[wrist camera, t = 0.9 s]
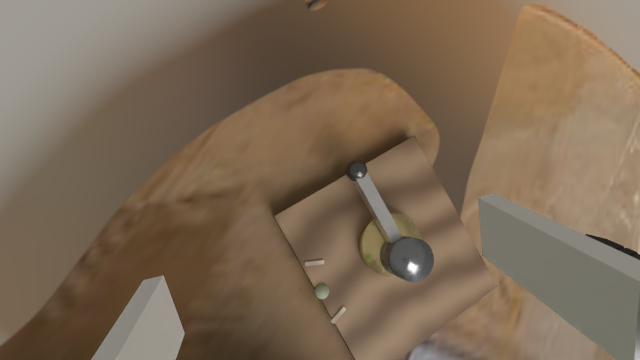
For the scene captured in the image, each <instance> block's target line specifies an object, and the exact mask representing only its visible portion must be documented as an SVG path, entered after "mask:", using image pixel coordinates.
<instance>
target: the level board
mask: <svg viewBox="0 0 640 360" xmlns="http://www.w3.org/2000/svg"><path fill="white" fill-rule="evenodd" d="M365 165H366V166H367V170H368V172H367V173H368V175H369V176H370V178H371V180H372V182H373V184H374V185H375V187H376V189H377V191H378V193H379V194H380V196H381V198H382V200H383V202H384V204H385V205H386V207H387V209H388V211H389V213H397V214H401V215H403V216H405V217H407V218H409V219H410V220H411V221H412V222H413V223H414V224H415V225H416V227H417V228H418V230H419V233H420V236H421V240H423V241H425V242H426V243H427V244H428V245H429V246H430V248H431V249H432V252H433V255H434V265H433V268H432V271H431V273H430V274H429V275H428V276H427V277H426V278H425V279H424V280H422V281H419V282H408V281H406V280H403V279H401V278H399V277H386V276H383V275H380V274H378V273H376V272H374V271H373V270H371V269H370V268H369V267H368V266H367V265H366V264H365V262H364V261H363V259H362V257H361V254H360V250H359V239H360V235H361V232H362V229H363V228H364V226H365V225H366V223H367V222H368V221H369V220H370V219H372V218H373V217H372V215H371V213H370V211H369V209H368V208H367V206H366V204H365V202H364V200H363V199H362V197H361V195H360V193H359V191H358V190H357V188H356V186H355V184H354V182H353V181H352V180H350V179H349V178H348V177H347V175H346V174H345V175H344V176H342V177H340V178H338V179H337V180H335V181H333V182H331V183H330V184H328V185H326V186H324V187H323V188H321V189H319V190H318V191H316V192H314V193H312V194H311V195H309V196H307V197H305V198H304V199H302V200H300V201H298V202H297V203H295V204H293V205H291V206H290V207H288V208H286V209H284V210H283V211H281V212H279V213H278V214H276V215H274V216H273V217H274V218H275V220H276V222H277V224H278V225H279V227H280V229H281V231H282V232H283V234H284V236H285V238H286V240H287V241H288V243H289V245H290V247H291V248H292V250H293V252H294V254H295V255H296V257H297V259H298V261H299V263H300V264H301V266H302V268H303V270H304V271H305V273H306V275H307V277H308V278H309V280H310V282H311V284H312V285H313V287H314V289H315V295H316V296H317V298H319V299H320V300H321V301H322V303H323V305H324V307H325V308H326V310H327V312H328V314H329V316H330V317H331V322H332V323H333V324H335V326H336V328H337V330H338V331H339V333H340V335H341V337H342V338H343V340H344V342H345V344H346V346H347V347H348V349H349V351H350V353H351V354H352V356H353V358H354V360H399V359H400V358H402V357H403V356H404V355H406V354H407V353H408V352H410V351H411V350H412V349H414V348H415V347H416V346H418V345H419V344H420V343H422V342H423V341H424V340H426V339H427V338H428V337H430V336H431V335H432V334H434V333H435V332H436V331H438V330H439V329H440V328H442V327H443V326H445V325H446V324H447V323H449V322H450V321H451V320H453V319H454V318H455V317H457V316H458V315H459V314H461V313H462V312H463V311H465V310H466V309H467V308H469V307H470V306H471V305H473V304H474V303H475V302H477V301H478V300H479V299H481V298H482V297H483V296H485V295H486V294H487V293H489V292H490V291H491V290H493V289H494V288H495V287H497V285H496V283H495V281H494V279H493V277H492V276H491V274H490V272H489V270H488V268H487V267H486V265H485V263H484V261H483V259H482V257H481V256H480V254H479V252H478V250H477V248H476V246H475V245H474V243H473V241H472V239H471V237H470V235H469V234H468V232H467V230H466V228H465V226H464V224H463V223H462V221H461V219H460V217H459V215H458V213H457V212H456V210H455V208H454V206H453V205H452V202H451V201H450V199H449V197H448V195H447V193H446V191H445V190H444V188H443V186H442V184H441V182H440V180H439V179H438V177H437V175H436V173H435V171H434V170H433V168H432V166H431V164H430V162H429V160H428V158H427V157H426V155H425V153H424V151H423V149H422V148H421V146H420V144H419V142H418V140H417V138H416V137H415V136H412V137H410V138H408V139H406V140H404V141H403V142H401V143H399V144H397V145H396V146H394V147H392V148H391V149H389V150H387V151H385V152H384V153H382V154H380V155H378V156H377V157H375V158H373V159H371V160H370V161H368V162H366V163H365Z"/></svg>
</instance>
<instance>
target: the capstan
mask: <svg viewBox="0 0 640 360" xmlns="http://www.w3.org/2000/svg"><path fill="white" fill-rule="evenodd" d="M367 172H368V170H367V166H366V165H365V163H363V162H362V161H359V160H354V161H351V162H350V163H349V164H348V165H347V167H346V175H347V177H348V178H349V179H350V180H352V181H353V182H354V184H355V186H356V188H357V190H358V191H359V193H360V195H361V197H362V199H363V200H364V202H365V204H366V206H367V208H368V209H369V211H370V213H371V215H372V217H373V218H372V219H370V220H369V221H368V222H367V223H366V225H365V226H364V228H363V229H362V232H361V235H360V239H359V250H360V254H361V257H362V259H363V261H364V262H365V264H366V265H367V266H368V267H369V268H370V269H371V270H373V271H374V272H376V273H378V274H380V275H383V276H386V277H399V278H401V279H403V280H406V281H408V282H419V281H422V280H424V279H425V278H426V277H427V276H428V275H429V274H430V273H431V271H432V268H433V265H434V255H433V252H432V249H431V248H430V246H429V245H428V244H427V243H426V242H425V241H423V240H421V236H420V233H419V230H418V228H417V227H416V225H415V224H414V223H413V222H412V221H411V220H410V219H409V218H407V217H405V216H403V215H401V214H397V213H389V211H388V209H387V207H386V205H385V204H384V202H383V200H382V198H381V196H380V194H379V193H378V191H377V189H376V187H375V185H374V184H373V182H372V180H371V178H370V176H369V175H368V173H367Z"/></svg>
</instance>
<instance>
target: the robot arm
mask: <svg viewBox="0 0 640 360" xmlns="http://www.w3.org/2000/svg"><path fill="white" fill-rule="evenodd" d="M478 206H479V220H480V233H481V246H482V256H484V257H485V258H486V259H487V260H489V261H490V262H491V263H493V264H494V265H495V266H496V267H498V268H499V269H500V270H502V271H503V272H504V273H505V274H507V275H508V276H509V277H511V278H512V279H513V280H514V281H516V282H517V283H518V284H520V285H521V286H522V287H523V288H525V289H526V290H527V291H529V292H530V293H531V294H532V295H534V296H535V297H536V298H538V299H539V300H540V301H541V302H543V303H544V304H545V305H547V306H548V307H549V308H550V309H552V310H553V311H554V312H556V313H557V314H558V315H559V316H561V317H562V318H563V319H565V320H566V321H567V322H568V323H570V324H571V325H572V326H574V327H575V328H576V329H577V330H579V331H580V332H581V333H583V334H584V335H585V336H587V337H588V338H589V339H590V340H592V341H593V342H594V343H596V344H597V345H598V346H599V347H601V348H602V349H603V350H605V351H606V352H607V353H608V354H610V355H611V356H612V357H614V358H615V359H616V360H640V255H638V253H637V252H635V251H633V250H630V249H628V248H624V246H621V245H619V244H617V243H615V242H612V241H610V240H608V239H604V238H600V237H596V236H592V235H588V234H586V235H584V234H582V233H579V232H577V231H575V230H573V229H571V228H569V227H566V226H564V225H562V224H560V223H558V222H556V221H553V220H551V219H549V218H547V217H545V216H543V215H540V214H538V213H536V212H534V211H532V210H529V209H527V208H525V207H523V206H521V205H519V204H516V203H514V202H512V201H510V200H508V199H506V198H503V197H501V196H499V195H497V194H491V195H487V196H483V197H479V198H478ZM184 334H185V333H184V330H183V327H182V324H181V322H180V319H179V316H178V314H177V311H176V308H175V306H174V303H173V300H172V297H171V295H170V292H169V289H168V287H167V284H166V281H165V278H164V276H159V277H155V278H151V279H147V280H143V282H142V283H141V285H140V286H139V288H138V289H137V291H136V292H135V294H134V295H133V297H132V298H131V300H130V301H129V303H128V304H127V306H126V307H125V309H124V311H123V312H122V314H121V315H120V317H119V318H118V320H117V321H116V323H115V324H114V326H113V327H112V329H111V330H110V332H109V333H108V335H107V336H106V338H105V339H104V341H103V342H102V344H101V345H100V347H99V348H98V350H97V351H96V353H95V354H94V356H93V357H92V359H91V360H176V358H177V355H178V352H179V349H180V346H181V343H182V340H183V337H184Z"/></svg>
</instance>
